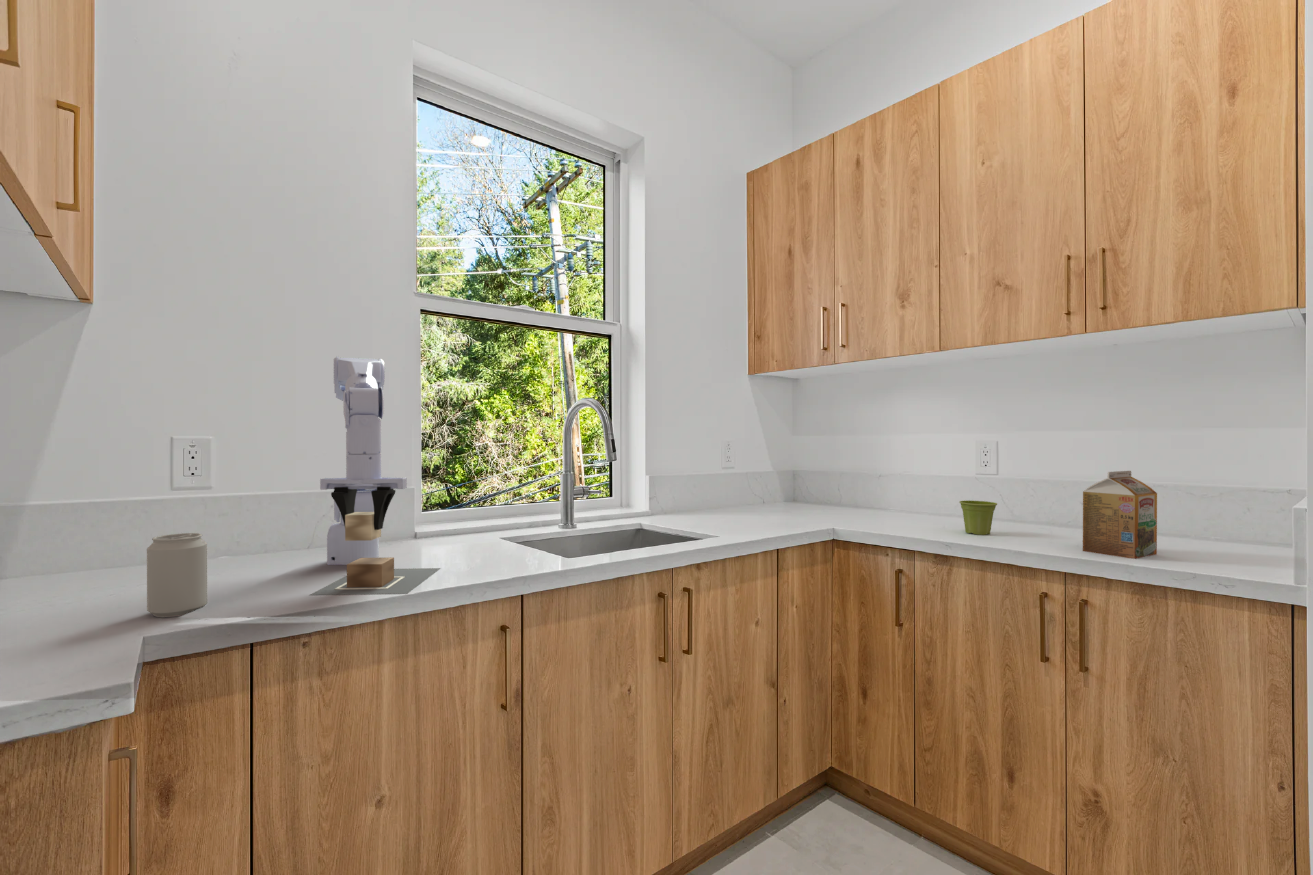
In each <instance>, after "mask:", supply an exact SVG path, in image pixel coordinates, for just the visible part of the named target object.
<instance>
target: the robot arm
mask: <svg viewBox="0 0 1313 875" xmlns="http://www.w3.org/2000/svg"><path fill="white" fill-rule="evenodd" d="M385 369H386V368H385V361H384V360H383V359H382V358H360V357H340V356H339V355H338V356H337V355H336V356H335V357H334V358H333V384H334V385H333V386H334V394H335V398H336V399H338V400H340V401H341V402H343V403H342V404H343V406H342V407H343V417H344V424H345V426H344V428H345V429H346V432H345V457H346V458H345V461H346V462H345V463H346V464H345V466H346V468H345V469H346V473H345V476H346V477H325V478H320V480H319V483H320V485H319V488H320V490H321V491H322V490H325V491H327V490H333V491H332V492H331V493H330V495H331V498H332V499H333V511H334V512H333V519H334V521H335V523H333V524H332V523H331V525H330V527H329V528H328V531H327V535H326V564H327V565H328V566H329V565H333V566H335V565H343V566H345V565H346V566H347V564H349V563H351V562H353V561H355V560H357V559H359V558H380V557H379V556H380V551H379V550H380V547H379V544H380V537H378V538H376V539H373V540H358V541H345V515H347V514H351V513H354V512H374V530H379V529H381V530H382V529H383V528H384V522H385V517H386V514H387V511H388V508H389V506H390V503H391V502H392V500H393V498H394V497H395V495H396V489H397V490H404V489H407V484H408V483H407V477H385V476H384V477H382V419H383V417H384V414H385V413H384V412H385V410H384V409H385V397H384V396H385V394H384V385H385V372H386V371H385ZM336 522H337V523H336Z"/></svg>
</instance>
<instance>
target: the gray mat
mask: <svg viewBox="0 0 1313 875" xmlns="http://www.w3.org/2000/svg"><path fill="white" fill-rule="evenodd" d="M441 569H442V568H441V567H437V568H433V567H432V568H431V567H430V568H425V567H424V568H415V567H413V568H394V579H393V580H392V581H390V582H389V583H387V584H386V585H384V586H382V587H347V575H344V577H342V578H339V579H338V580H335V581H334V582H332V583H329V584H328V585H326V586H323V587H322V588H320V589H318V590H317V591H314V592H312V593H311V594H309V596H349V595H350V596H351V595H352V596H353V595H355V596H357V595H358V596H359V595H361V596H363V595H365V596H367V595H368V596H369V595H408V594H409V593H410V592H411V591H413V590H414V589H416V588H417V587H418V586H419V585H421V584H422V583H423V582H425V581H426V580H428V579H429V578H430V577H432V576H433V575H434V574H435V573H437V572H438V571H439V570H441Z"/></svg>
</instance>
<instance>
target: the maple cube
mask: <svg viewBox="0 0 1313 875" xmlns="http://www.w3.org/2000/svg"><path fill="white" fill-rule="evenodd" d="M378 537H379V538H380V537H382V529H379V530H374V512H354V513H351V514H347V515H345V541H358V540H373V539H376V538H378Z"/></svg>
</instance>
